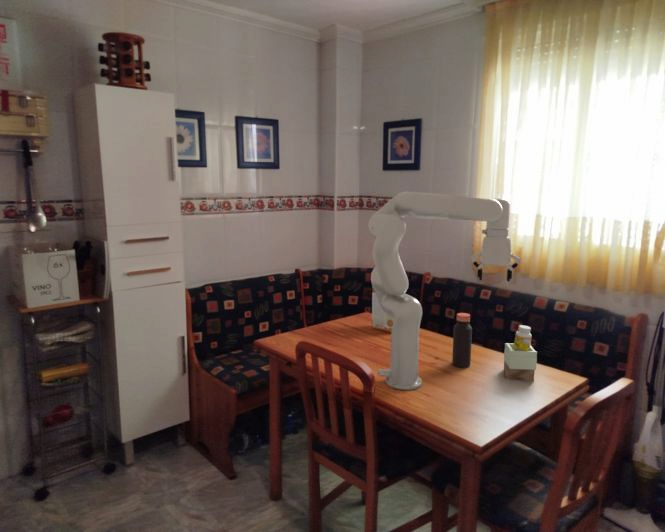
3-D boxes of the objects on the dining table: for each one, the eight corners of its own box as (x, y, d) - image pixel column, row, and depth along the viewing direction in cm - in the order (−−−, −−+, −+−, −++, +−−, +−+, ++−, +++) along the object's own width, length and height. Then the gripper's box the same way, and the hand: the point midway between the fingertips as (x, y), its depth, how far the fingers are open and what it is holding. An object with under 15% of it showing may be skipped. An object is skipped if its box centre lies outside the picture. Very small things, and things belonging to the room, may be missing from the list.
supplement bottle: (531, 355, 174) (535, 329, 172) (517, 354, 173) (521, 329, 171) (524, 349, 179) (528, 324, 177) (510, 349, 179) (514, 324, 177)
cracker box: (402, 331, 229) (403, 287, 225) (395, 334, 224) (396, 290, 220) (379, 325, 238) (379, 283, 234) (371, 327, 234) (371, 285, 230)
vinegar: (470, 368, 185) (473, 317, 181) (452, 367, 186) (454, 316, 182) (469, 361, 191) (472, 312, 187) (451, 360, 192) (453, 311, 189)
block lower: (506, 380, 175) (507, 368, 174) (503, 370, 183) (504, 359, 182) (533, 382, 173) (534, 370, 172) (529, 372, 182) (529, 360, 181)
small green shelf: (509, 368, 173) (510, 351, 172) (504, 359, 182) (505, 342, 181) (536, 369, 172) (537, 352, 171) (529, 360, 181) (530, 343, 180)
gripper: (472, 234, 173) (469, 281, 176) (524, 235, 169) (520, 283, 172) (471, 231, 180) (469, 277, 184) (521, 232, 176) (518, 279, 180)
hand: (494, 280), depth 178 cm, fingers open, 9 cm apart
